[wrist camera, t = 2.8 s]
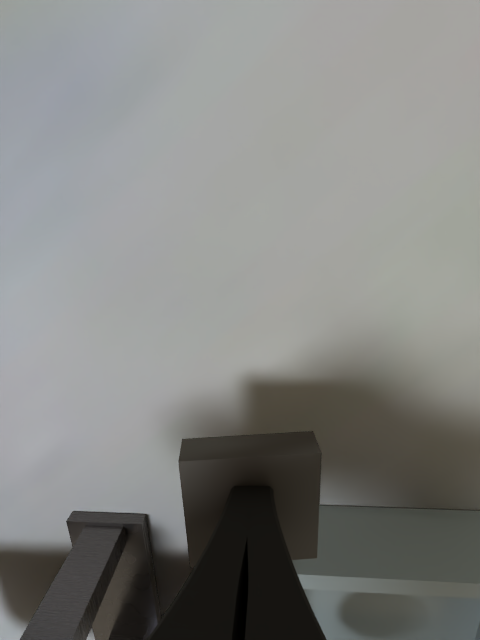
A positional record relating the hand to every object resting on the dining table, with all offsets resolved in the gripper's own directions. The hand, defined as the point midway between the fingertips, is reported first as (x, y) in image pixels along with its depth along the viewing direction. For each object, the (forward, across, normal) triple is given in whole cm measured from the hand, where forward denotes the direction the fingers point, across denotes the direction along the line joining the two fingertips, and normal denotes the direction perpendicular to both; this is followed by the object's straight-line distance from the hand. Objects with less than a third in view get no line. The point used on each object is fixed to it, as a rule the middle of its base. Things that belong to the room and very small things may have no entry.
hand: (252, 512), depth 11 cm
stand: (+6, +8, +12) cm, 15 cm away
